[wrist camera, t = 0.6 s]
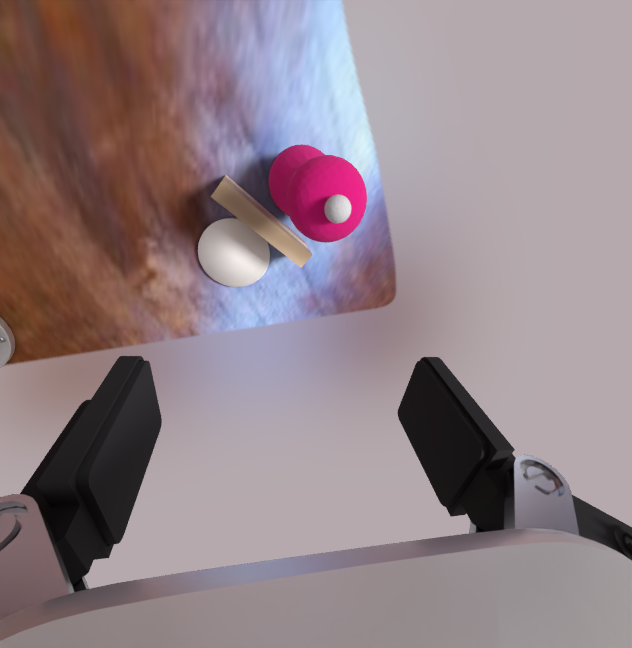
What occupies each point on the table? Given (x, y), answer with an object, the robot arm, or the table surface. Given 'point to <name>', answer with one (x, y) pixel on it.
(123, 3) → the table surface
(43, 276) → the table surface
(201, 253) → the coaster
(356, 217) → the pepper mill
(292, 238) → the oak rail
